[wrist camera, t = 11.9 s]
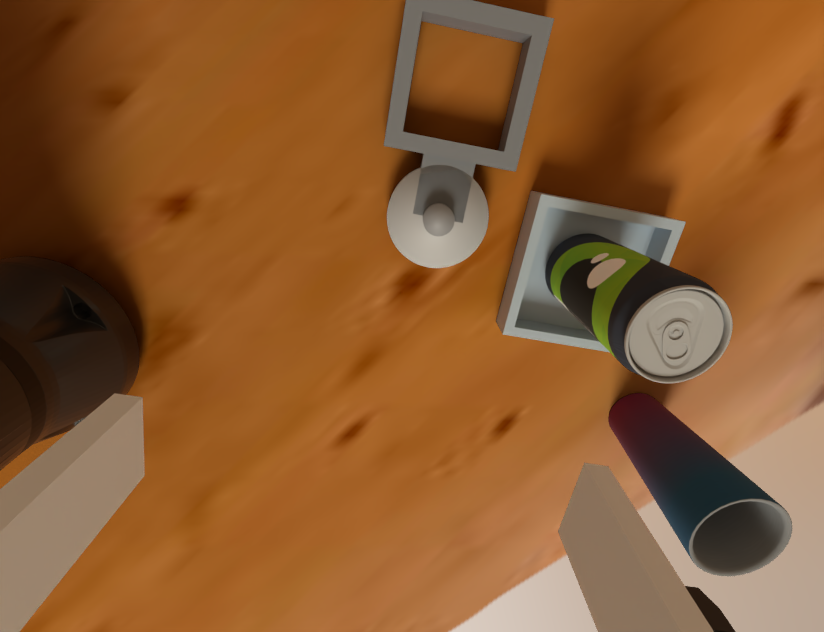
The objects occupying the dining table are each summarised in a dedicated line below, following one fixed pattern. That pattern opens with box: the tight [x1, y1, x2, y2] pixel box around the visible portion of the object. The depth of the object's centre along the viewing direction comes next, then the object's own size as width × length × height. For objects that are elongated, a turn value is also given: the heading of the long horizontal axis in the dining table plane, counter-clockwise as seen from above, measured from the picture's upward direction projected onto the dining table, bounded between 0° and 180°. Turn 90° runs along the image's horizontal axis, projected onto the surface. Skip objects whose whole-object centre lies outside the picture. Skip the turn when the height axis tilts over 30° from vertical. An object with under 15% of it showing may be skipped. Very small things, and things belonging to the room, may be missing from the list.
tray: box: [496, 191, 686, 352], centre depth 38 cm, size 12×12×3 cm
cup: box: [609, 393, 792, 576], centre depth 37 cm, size 7×7×15 cm
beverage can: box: [545, 233, 733, 383], centre depth 31 cm, size 6×6×15 cm
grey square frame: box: [384, 0, 554, 268], centre depth 34 cm, size 10×18×3 cm, turn 169°
